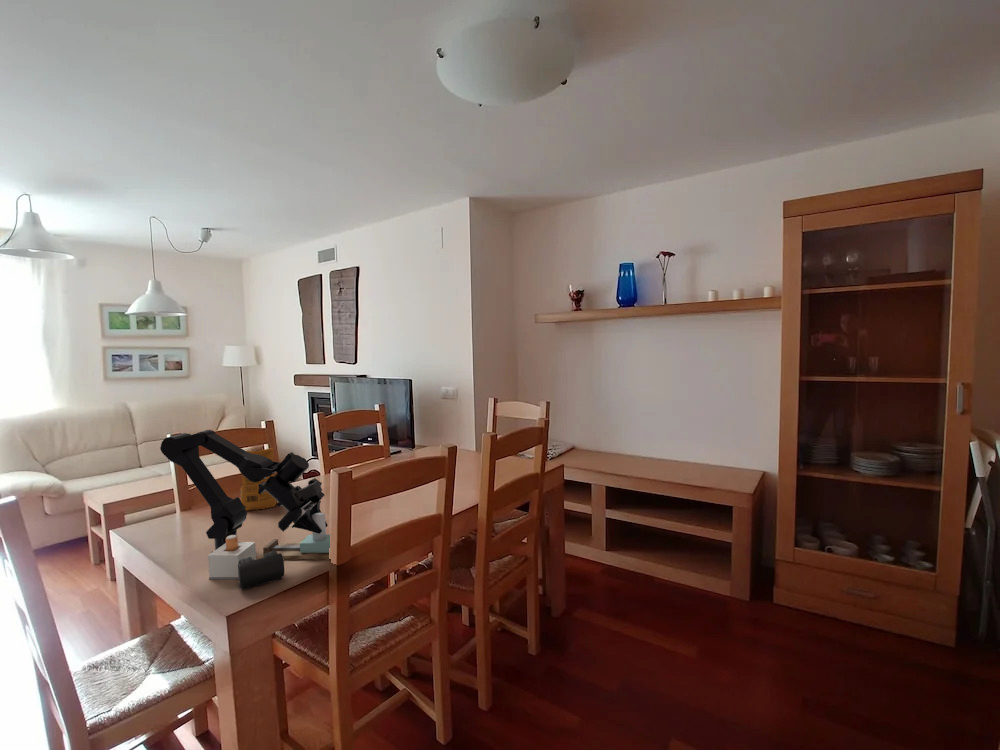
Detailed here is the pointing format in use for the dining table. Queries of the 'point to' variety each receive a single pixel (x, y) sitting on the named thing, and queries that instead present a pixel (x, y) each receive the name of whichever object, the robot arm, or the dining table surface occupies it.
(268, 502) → the coffee package
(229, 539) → the cylinder
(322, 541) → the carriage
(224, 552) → the cabinet
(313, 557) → the rail
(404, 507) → the dining table surface
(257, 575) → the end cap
